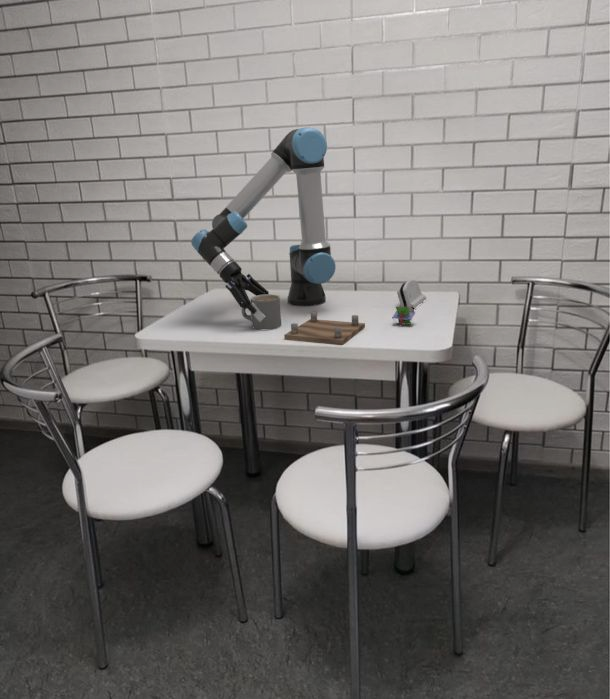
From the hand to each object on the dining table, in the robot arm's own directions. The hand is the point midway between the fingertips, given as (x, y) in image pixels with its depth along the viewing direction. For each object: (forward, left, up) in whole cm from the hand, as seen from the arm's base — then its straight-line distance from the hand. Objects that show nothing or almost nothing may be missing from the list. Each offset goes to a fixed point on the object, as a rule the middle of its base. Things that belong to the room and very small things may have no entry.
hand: (269, 315), depth 208 cm
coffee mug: (+2, -3, -4) cm, 5 cm away
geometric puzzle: (-36, +27, -4) cm, 46 cm away
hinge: (-57, +7, -4) cm, 57 cm away
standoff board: (-10, +19, -4) cm, 22 cm away
